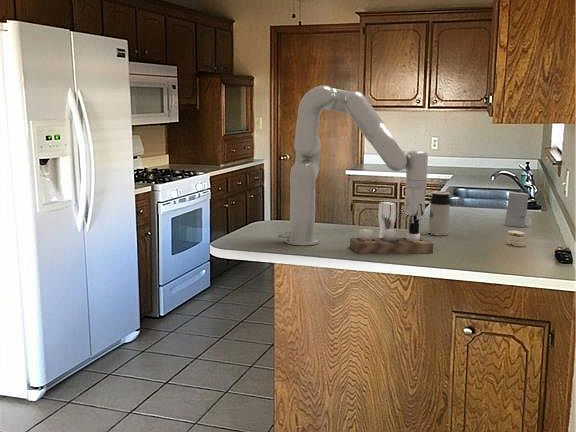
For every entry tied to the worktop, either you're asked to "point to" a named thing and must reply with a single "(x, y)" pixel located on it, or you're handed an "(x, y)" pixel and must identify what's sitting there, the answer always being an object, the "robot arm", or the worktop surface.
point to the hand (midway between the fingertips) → (413, 233)
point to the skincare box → (516, 209)
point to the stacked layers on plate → (516, 238)
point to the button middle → (389, 235)
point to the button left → (366, 235)
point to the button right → (412, 237)
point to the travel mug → (439, 213)
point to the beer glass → (386, 216)
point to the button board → (391, 246)
